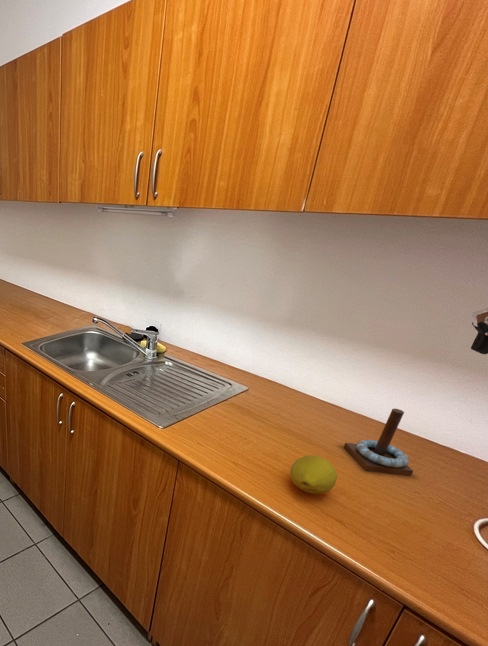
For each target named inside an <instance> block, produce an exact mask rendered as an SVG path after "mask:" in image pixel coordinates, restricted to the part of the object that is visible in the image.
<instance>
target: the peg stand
mask: <svg viewBox="0 0 488 646" xmlns="http://www.w3.org/2000/svg"><path fill="white" fill-rule="evenodd" d="M404 414H405V411H404V410H402V409H399V408H392V409H391V412H390V413H389V415H388V418H387V420H386V422H385V424H384V427H383V429H382V431H381V432H380V433H381V434H380V435H379V438H378V440H377V441H378V442H377V445H376V447H375V448H368V449H369V450H370V451H372V452H374V453H376V454H378V455H380V456H384V457H387V458H393V459H396V458H395V457H394V456H393V455H392V454H390V453H388V452H386V451H387V449H388V447H389V444H390V445H391V442H392V440H393V438H394V436H395V433H396V431H397V429H398V428H399V425H400V423H401V421H402V418H403V416H404ZM343 449H344V450H345V451H346V452H347V453H348V454H349V455H350V456H351V457H352V458H353V460H355V461H356V462H357V463H358V465H360V466H361V467H362V468H363V470H364V471H366V472H374V473H381V474H389V475H390V474H391V475H399V476H400V475H401V476H409V477H411V476H412V475H413V472H414V470H413V469H412V468H411V467H410V466H408V465H406V466H403V467H400V468H396V467H388V466H384V465H381V464H378V463H375V462H373V461H371V460H369V459H367V458H365V457H364V456H363V455H362V454H361V453H360V452H359V451H358V450H357V443H354V442H353V443H351V442H345V443H344V445H343Z"/></svg>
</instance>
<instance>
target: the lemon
mask: <svg viewBox="0 0 488 646" xmlns="http://www.w3.org/2000/svg"><path fill="white" fill-rule="evenodd" d="M289 471H290V472H289V474H290V479H291V481H292V482H293V484H294V485H295V486H296V487H297V488H298V489H300V490H301V491H303V492H305V493H306V494H310V495H311V494H312V495H323V494H326V493H329V492H331V490H332V489H333V488H334V487H335V485H336V482H337V479H338V473H337V470H336V469H335V466H333V464H332V463H331V462H330V461H328V459H326V458H324V457H322V456H319V455H312V454H310V455H309V454H307V455H304V456H301V457H299V458H297V459H296V460H295V461H293V462H292V464H291V466H290V470H289Z"/></svg>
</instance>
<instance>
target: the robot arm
mask: <svg viewBox="0 0 488 646" xmlns="http://www.w3.org/2000/svg"><path fill="white" fill-rule="evenodd" d="M471 321H472V322H471V325H472V326H473V328H474V329H475V332H476V336H475V338H474V339H473V342H472V344H471V346H470V350H471V351H474V352H476V353H479V354H481V355H488V307H486V308H483V309H480V310H475V311H473V312H471Z"/></svg>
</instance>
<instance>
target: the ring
mask: <svg viewBox="0 0 488 646" xmlns="http://www.w3.org/2000/svg"><path fill="white" fill-rule="evenodd" d="M377 442H378V440H376V439H362V440H359V441H358V442H356V444H357V450H358V451H359V452H360V453H361V454H362V455H363V456H364V457H365V458H367V459H369V460H371V461H373V462H375V463H378V464H381V465H384V466H388V467H396V468H400V467H403V466H406V465H407V466H408V465H409V464H410V460H409V456H408V454H406V453H405V452H404V451H402V449H400V448H398V447H396V446H395V445H392V444H391V443H390V444H389V447H388V449H387V451H386V452H388V453H390V454H392V455H393V456H394V457H395V458H396V459H393V458H387V457H384V456H380V455H378V454H376V453H374V452H372V451H370V450H369V449H368V448H375V447H376V445H377Z"/></svg>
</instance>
